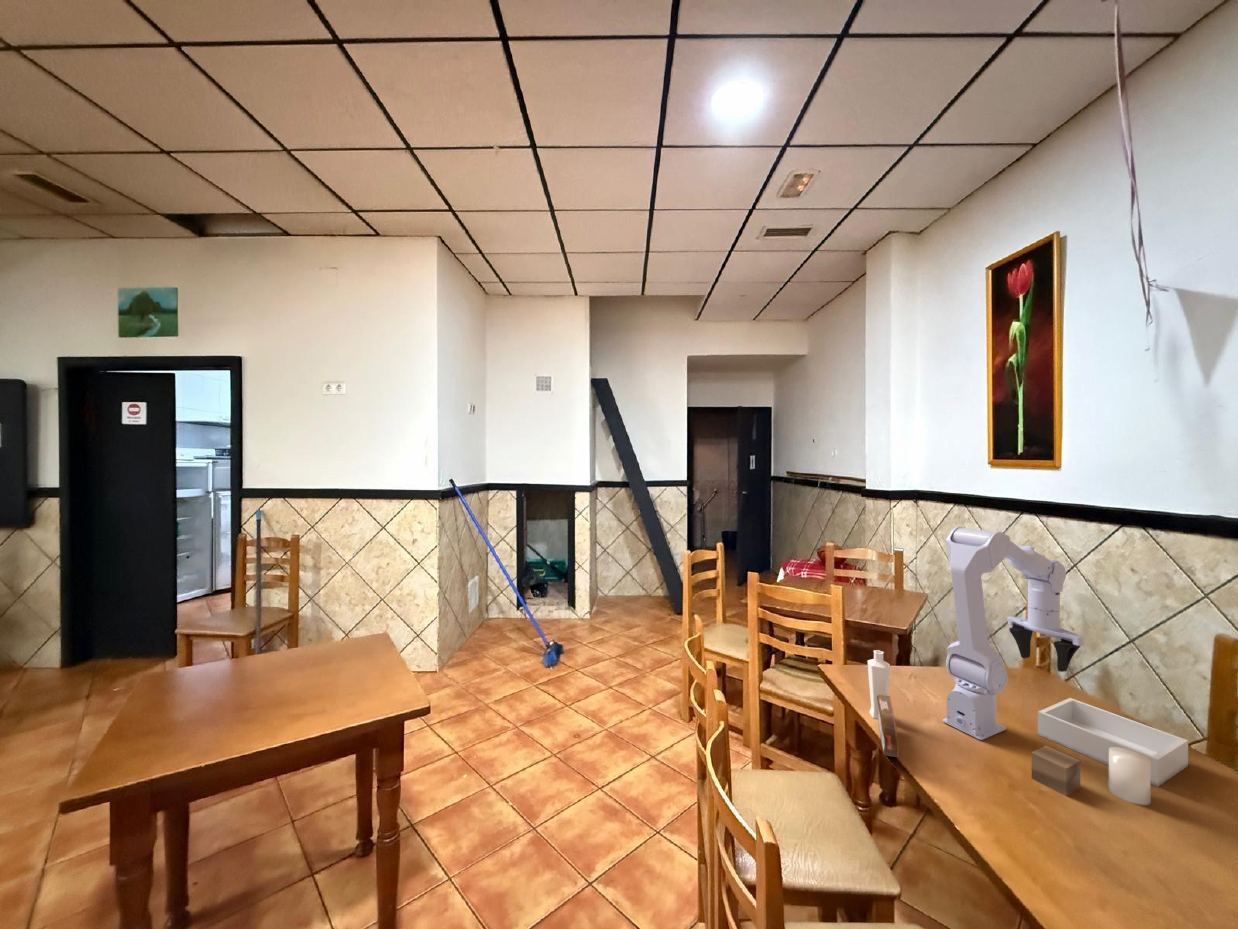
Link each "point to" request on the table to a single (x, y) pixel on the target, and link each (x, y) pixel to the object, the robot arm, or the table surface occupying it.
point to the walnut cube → (1056, 770)
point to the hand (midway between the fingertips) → (1043, 663)
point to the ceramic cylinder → (1130, 775)
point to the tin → (887, 726)
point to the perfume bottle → (877, 680)
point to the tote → (1112, 737)
